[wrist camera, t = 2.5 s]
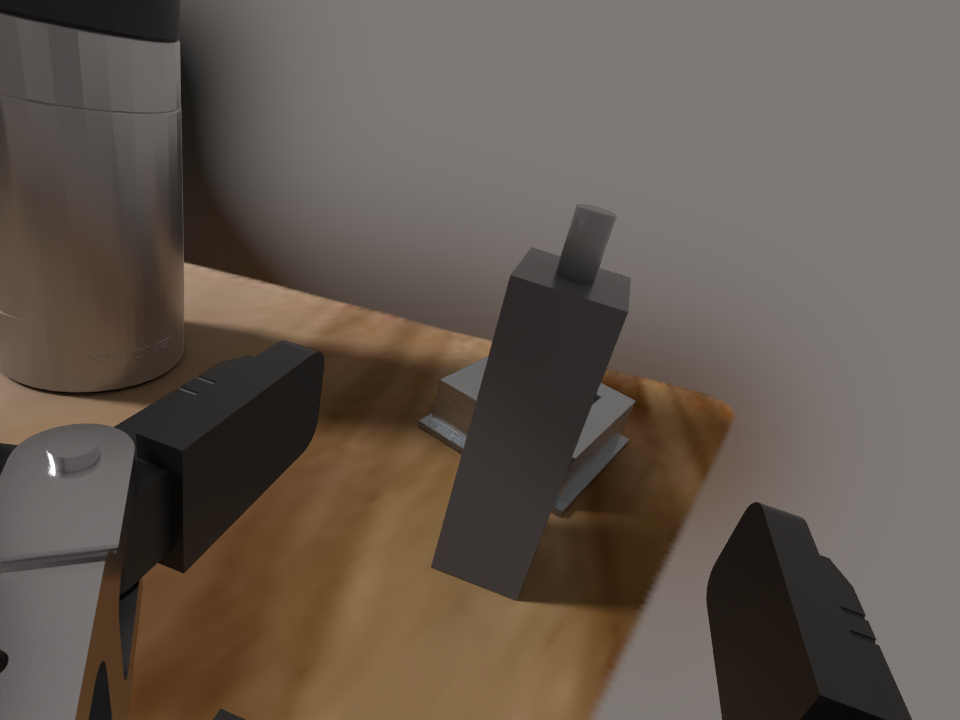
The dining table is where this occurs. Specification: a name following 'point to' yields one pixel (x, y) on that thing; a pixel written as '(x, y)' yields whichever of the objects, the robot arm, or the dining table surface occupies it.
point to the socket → (592, 448)
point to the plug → (532, 405)
